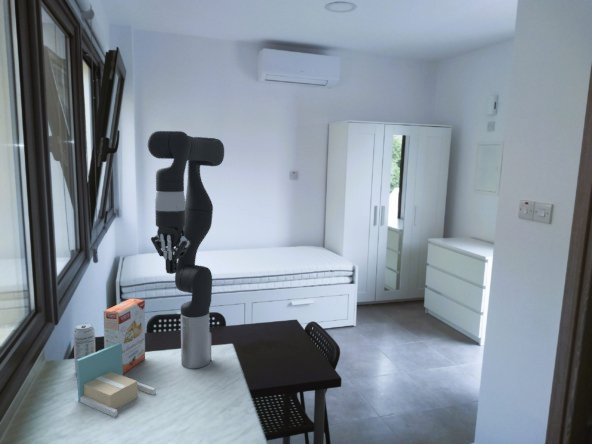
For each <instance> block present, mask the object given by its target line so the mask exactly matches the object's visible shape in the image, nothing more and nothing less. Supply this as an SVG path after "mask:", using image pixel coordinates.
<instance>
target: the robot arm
mask: <svg viewBox="0 0 592 444" xmlns="http://www.w3.org/2000/svg"><path fill="white" fill-rule="evenodd" d="M223 143H224V142H222V140H220V139H219V138H216V137H206V136H205V137H203V136H190V135H188V134H187V133H186V132H184V131H181V130H179V131H178V130H176V131H175V130H174V131H173V130H156V131H154V132H152V133H151V134H150V135H149V136H148V138H147V142H146V145H147V150H148V152H149V153H150V154H151V156H152V157H154V158H156V159H161V160H165V159H169V160H170V159H171V160H172V162H171V164H170V166H166V167H162V168H159V169H157V170H156V171H155V199H154V201H155V202H154V204H155V209H154V211H155V213H154V214H155V227H157V231H156V235H155V236H151V238H150V241H151V242H152V244H153V246H154V248H155V250H156V252H157V253H158V255H159V257H163V260H165V271H166V274H170V275H172V274H173V275H175V276H174V284H175V288H176V289H177V290H179V292H185V293H189V294H191V300H189V301H187V302H186V301H185V302H184V303H182V305H180V359H181V360H180V361H181V366H183V367H185V368H186V369H199V368H203V367H206V366H207V365H208V364H209V363H210V361H211V360H212V332H210V306H211V305H212V296H213V295H212V291H213V275H212V272H211V269H210V268H209V267H208V266H204V265H198V264H197V265H196V258H197V254H198V250H199V247H200V245H201V244H202V242H203V241H204V240H205V238H206V236H207V235H208V233H209V232H210V230H211V227H212V223H213V212H214V207H213V203H212V199H211V198H210V196H209V193H208V192H207V190H206V188H205V186H204V183H203V180H202V176H201V166H203V167H205V166H206V167H218V166H220V165H221V164H222V163H223V161H224V158H225V146H224V144H223ZM186 167H187V180H186V191H185V182H184V181H185V172H186ZM185 192H186V193H185Z"/></svg>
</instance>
